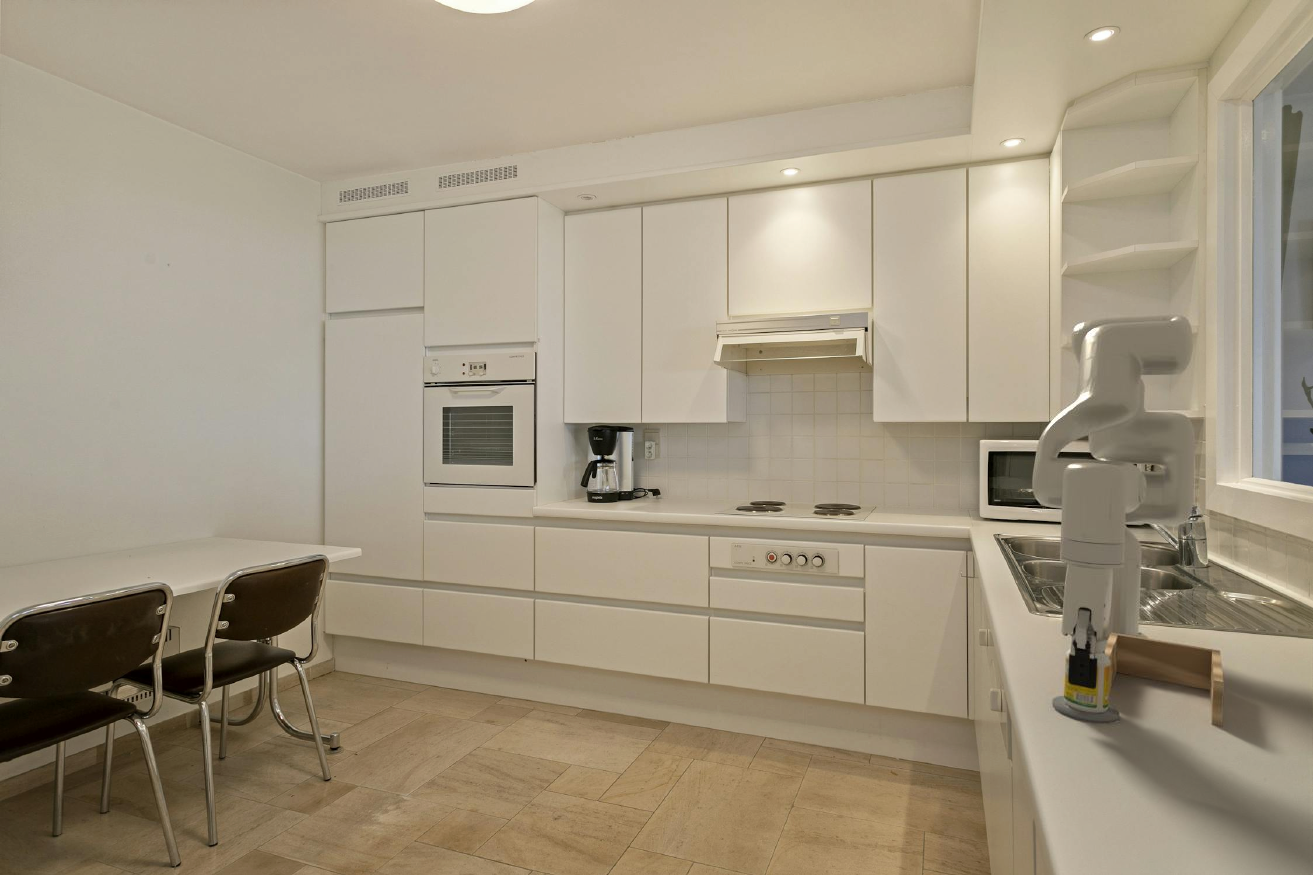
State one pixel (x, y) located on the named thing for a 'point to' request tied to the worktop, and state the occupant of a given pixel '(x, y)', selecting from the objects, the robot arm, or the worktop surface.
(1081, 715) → the slate coaster
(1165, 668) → the wooden u-frame
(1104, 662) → the supplement bottle
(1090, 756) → the worktop surface
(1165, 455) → the robot arm
